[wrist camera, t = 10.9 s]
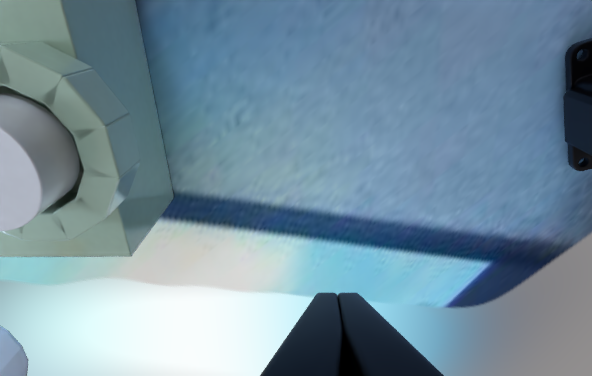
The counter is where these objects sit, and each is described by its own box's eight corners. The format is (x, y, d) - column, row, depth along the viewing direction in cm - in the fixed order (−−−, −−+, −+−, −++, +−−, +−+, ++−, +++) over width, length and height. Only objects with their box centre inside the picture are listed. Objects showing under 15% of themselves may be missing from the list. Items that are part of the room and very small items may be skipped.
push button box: (163, -20, 17) (62, -41, 10) (199, 197, 21) (147, 284, 15) (-79, -10, 17) (-332, -23, 10) (9, 200, 22) (-126, 284, 15)
